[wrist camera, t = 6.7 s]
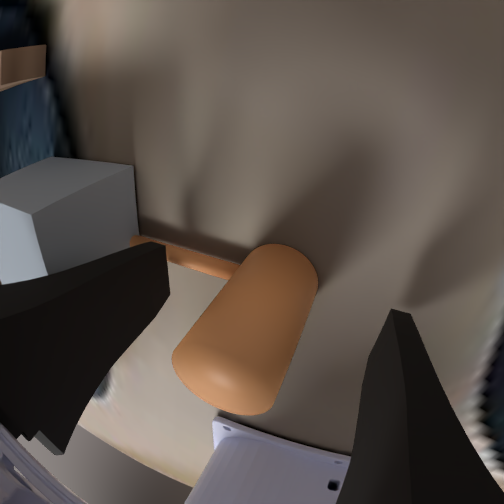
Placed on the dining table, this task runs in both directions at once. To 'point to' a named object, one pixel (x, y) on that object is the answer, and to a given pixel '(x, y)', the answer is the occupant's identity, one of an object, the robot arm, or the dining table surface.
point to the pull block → (127, 235)
